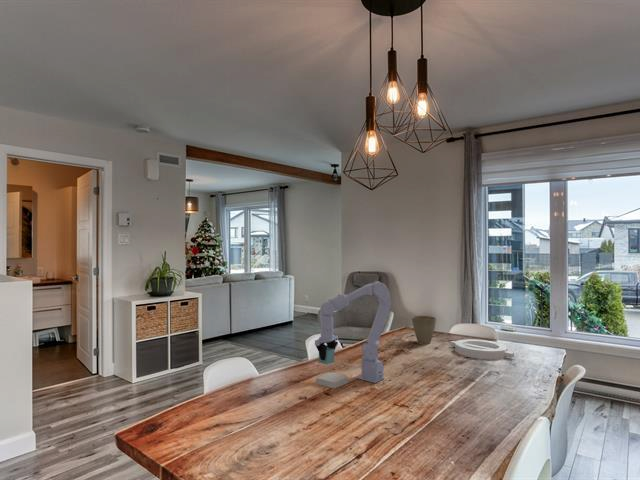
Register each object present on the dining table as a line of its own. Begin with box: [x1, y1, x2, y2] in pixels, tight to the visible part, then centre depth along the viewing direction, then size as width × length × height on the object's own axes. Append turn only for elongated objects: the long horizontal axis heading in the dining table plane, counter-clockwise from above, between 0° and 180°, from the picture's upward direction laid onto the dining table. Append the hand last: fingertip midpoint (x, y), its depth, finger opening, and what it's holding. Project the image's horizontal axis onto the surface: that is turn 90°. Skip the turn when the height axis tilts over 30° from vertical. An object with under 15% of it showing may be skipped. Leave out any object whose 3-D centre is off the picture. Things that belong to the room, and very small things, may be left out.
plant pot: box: [411, 315, 437, 345], centre depth 250 cm, size 15×15×16 cm
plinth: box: [315, 372, 349, 389], centre depth 173 cm, size 10×10×2 cm
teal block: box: [318, 348, 335, 365], centre depth 179 cm, size 5×5×6 cm
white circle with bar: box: [450, 338, 515, 360], centre depth 227 cm, size 28×28×5 cm
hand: (326, 358), depth 179 cm, fingers closed on teal block, 5 cm apart
